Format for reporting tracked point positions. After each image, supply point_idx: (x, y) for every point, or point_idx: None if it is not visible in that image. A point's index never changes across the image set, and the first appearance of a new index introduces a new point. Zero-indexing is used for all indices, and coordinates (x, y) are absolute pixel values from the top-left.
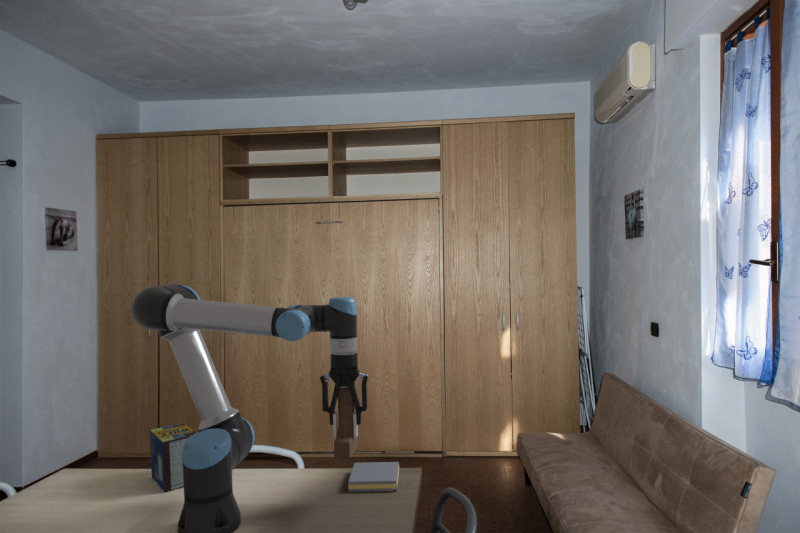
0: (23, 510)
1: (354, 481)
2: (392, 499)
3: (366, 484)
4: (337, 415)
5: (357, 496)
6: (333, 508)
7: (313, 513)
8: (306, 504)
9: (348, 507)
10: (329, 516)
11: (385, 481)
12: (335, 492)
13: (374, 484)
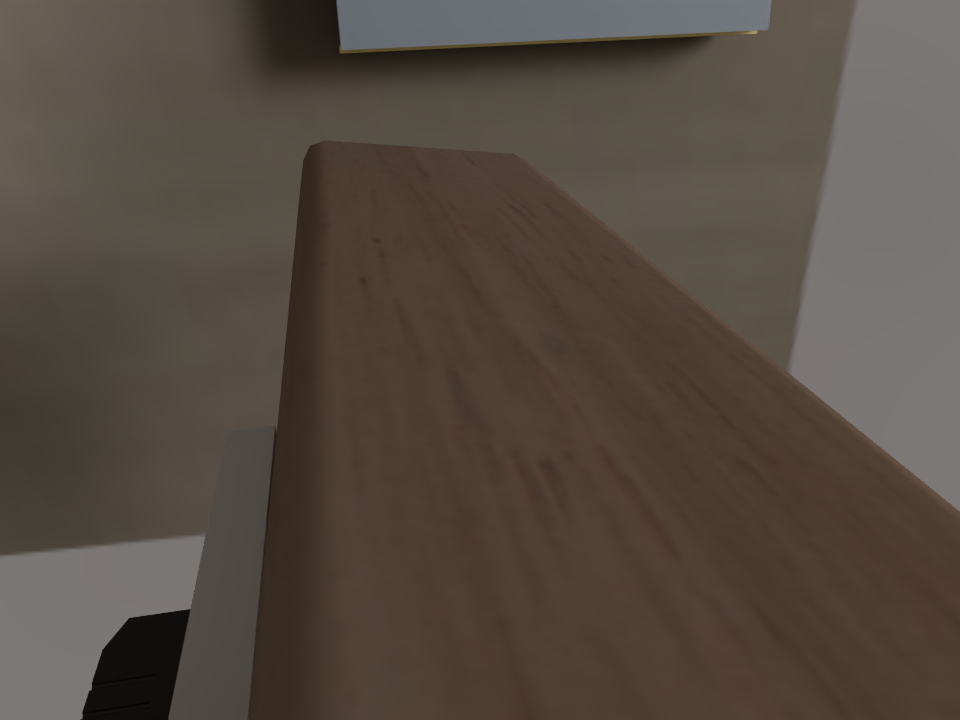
0: None
1: (399, 46)
2: (693, 168)
3: (504, 44)
4: (251, 673)
5: (430, 126)
6: None
7: (174, 393)
8: (59, 274)
9: None
10: None
11: (675, 33)
12: (224, 54)
13: (573, 41)
